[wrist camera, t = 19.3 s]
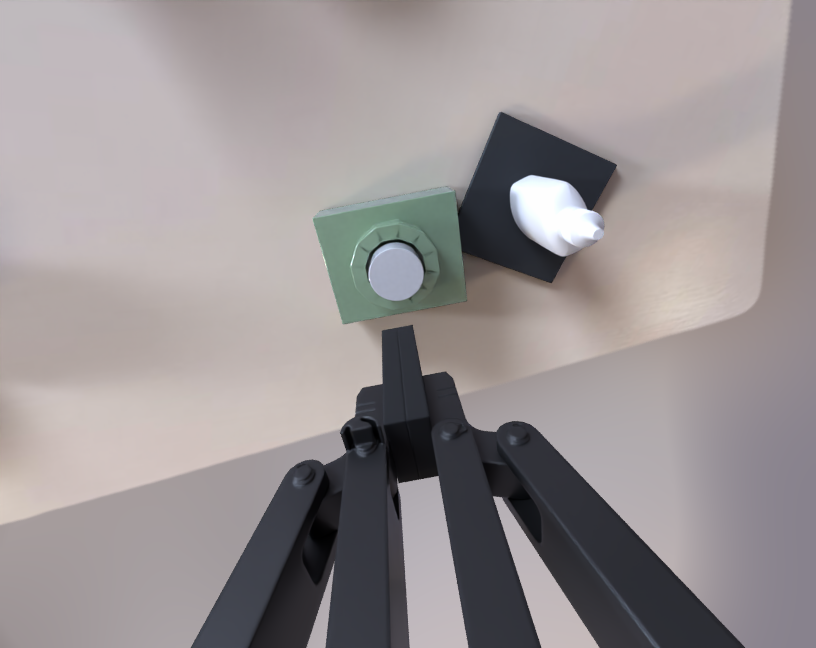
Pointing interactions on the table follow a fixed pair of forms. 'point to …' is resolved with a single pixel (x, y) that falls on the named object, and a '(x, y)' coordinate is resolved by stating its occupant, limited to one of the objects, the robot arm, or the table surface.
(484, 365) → the table surface
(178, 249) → the table surface
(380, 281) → the grey round button
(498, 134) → the mat
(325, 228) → the green button base
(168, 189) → the table surface
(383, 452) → the robot arm
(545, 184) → the eye dropper bottle
